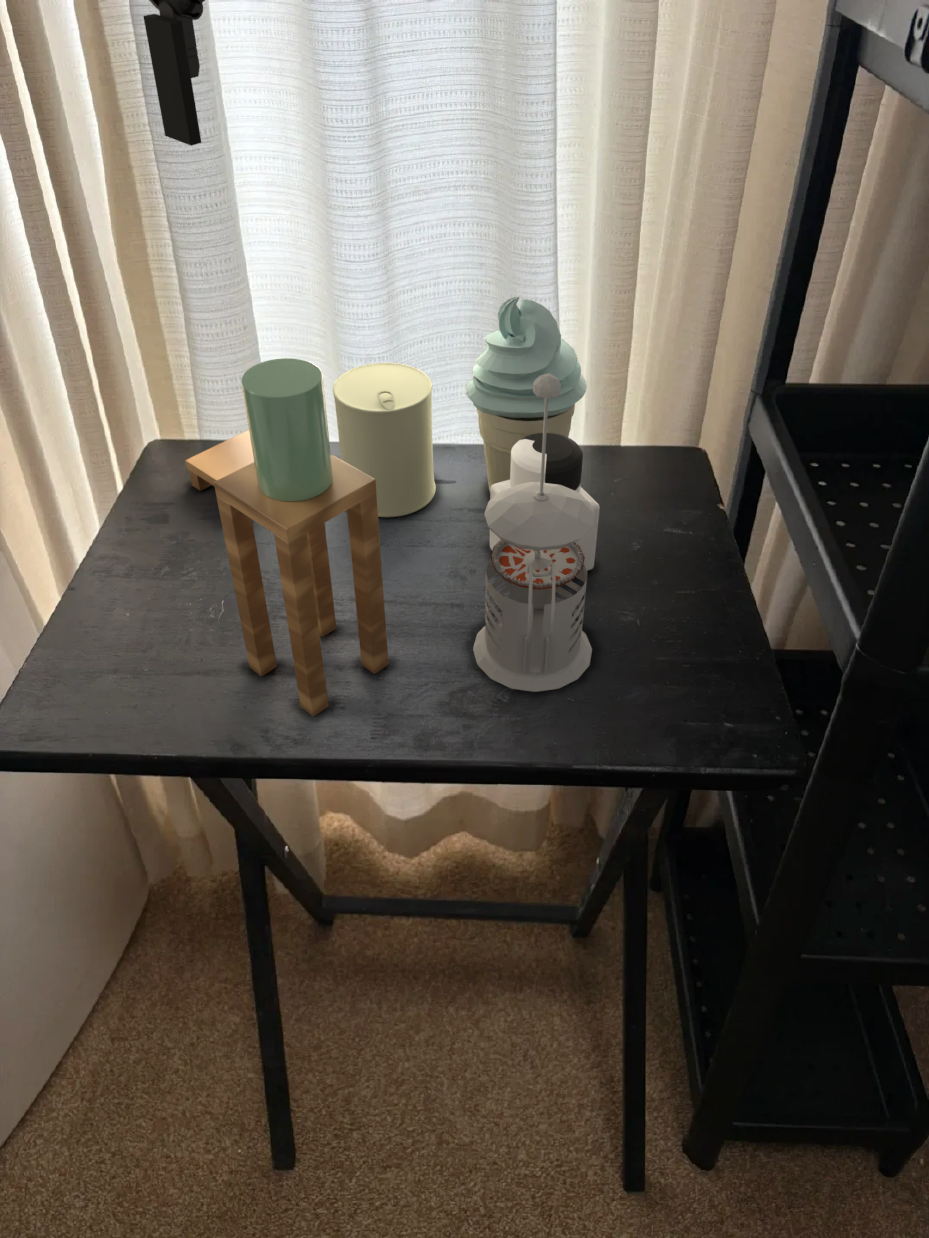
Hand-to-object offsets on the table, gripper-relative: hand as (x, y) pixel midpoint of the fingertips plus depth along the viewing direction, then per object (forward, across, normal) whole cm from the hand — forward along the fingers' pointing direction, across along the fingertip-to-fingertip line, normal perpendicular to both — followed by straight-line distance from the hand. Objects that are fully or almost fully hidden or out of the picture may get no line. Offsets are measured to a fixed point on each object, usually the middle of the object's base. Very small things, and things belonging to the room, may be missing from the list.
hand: (84, 168), depth 60 cm
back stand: (+39, +18, +17) cm, 46 cm away
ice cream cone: (+39, +36, -3) cm, 53 cm away
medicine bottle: (+39, +29, -12) cm, 50 cm away
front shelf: (+39, +6, -8) cm, 40 cm away
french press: (+39, +19, -20) cm, 48 cm away
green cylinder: (+21, +6, -8) cm, 23 cm away
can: (+39, +27, +6) cm, 48 cm away
